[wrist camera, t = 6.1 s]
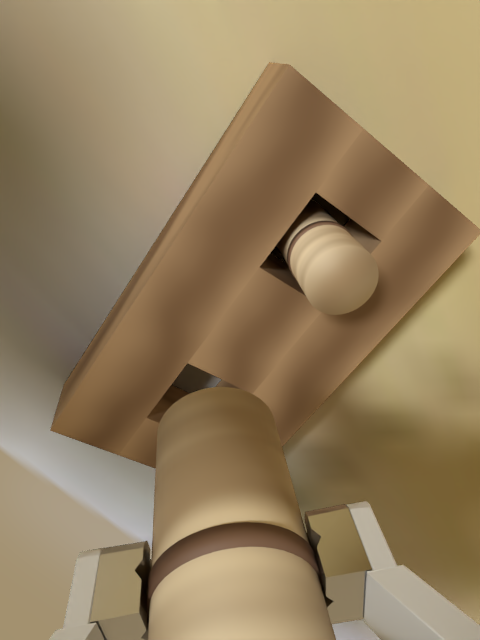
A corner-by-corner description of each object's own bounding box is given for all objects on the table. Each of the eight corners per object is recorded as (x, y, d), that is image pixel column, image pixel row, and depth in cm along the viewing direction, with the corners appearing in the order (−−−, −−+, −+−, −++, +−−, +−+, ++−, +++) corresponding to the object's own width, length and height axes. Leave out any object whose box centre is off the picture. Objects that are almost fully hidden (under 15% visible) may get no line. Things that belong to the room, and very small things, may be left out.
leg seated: (258, 235, 29) (288, 293, 22) (295, 185, 27) (339, 229, 20) (303, 264, 30) (344, 327, 23) (340, 218, 29) (395, 270, 22)
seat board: (63, 384, 32) (49, 430, 28) (269, 62, 24) (289, 64, 20) (228, 451, 38) (235, 497, 34) (440, 207, 29) (482, 231, 26)
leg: (143, 396, 13) (109, 779, 6) (272, 375, 13) (381, 722, 6) (167, 486, 15) (162, 857, 8) (280, 466, 15) (372, 811, 8)
